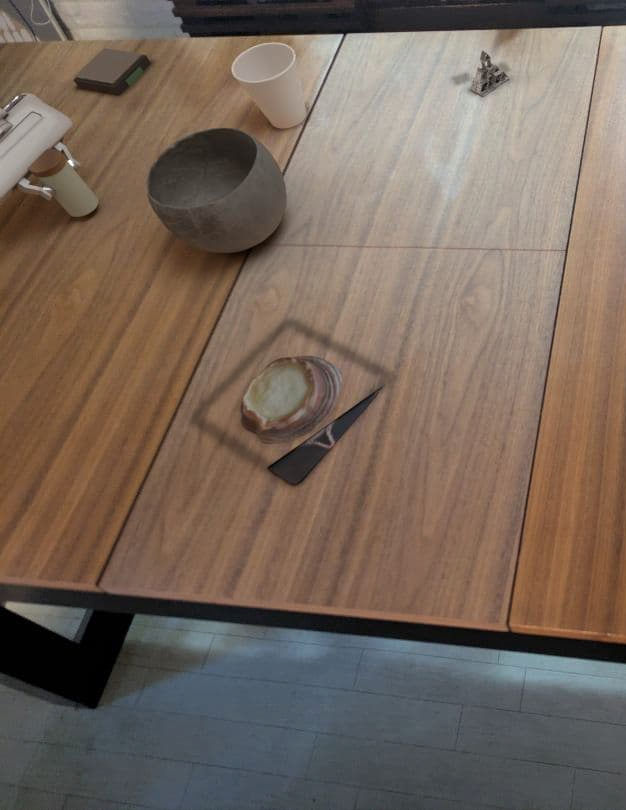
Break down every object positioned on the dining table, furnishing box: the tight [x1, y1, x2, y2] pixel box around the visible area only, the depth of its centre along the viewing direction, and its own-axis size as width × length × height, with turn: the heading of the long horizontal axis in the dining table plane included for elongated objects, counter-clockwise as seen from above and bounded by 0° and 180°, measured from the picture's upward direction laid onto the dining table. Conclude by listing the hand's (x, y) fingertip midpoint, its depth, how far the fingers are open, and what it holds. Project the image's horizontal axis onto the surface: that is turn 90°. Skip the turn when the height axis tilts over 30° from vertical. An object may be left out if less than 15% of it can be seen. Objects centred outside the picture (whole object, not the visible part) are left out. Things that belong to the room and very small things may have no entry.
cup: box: [230, 41, 307, 130], centre depth 133 cm, size 12×12×12 cm
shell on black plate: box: [240, 355, 385, 485], centre depth 102 cm, size 21×20×4 cm
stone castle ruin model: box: [469, 50, 511, 98], centre depth 135 cm, size 9×9×8 cm
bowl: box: [145, 127, 288, 254], centre depth 117 cm, size 20×20×15 cm
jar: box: [28, 149, 100, 218], centre depth 123 cm, size 6×6×10 cm
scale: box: [73, 47, 152, 96], centre depth 150 cm, size 11×11×3 cm
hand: (66, 183), depth 123 cm, fingers closed on jar, 5 cm apart
